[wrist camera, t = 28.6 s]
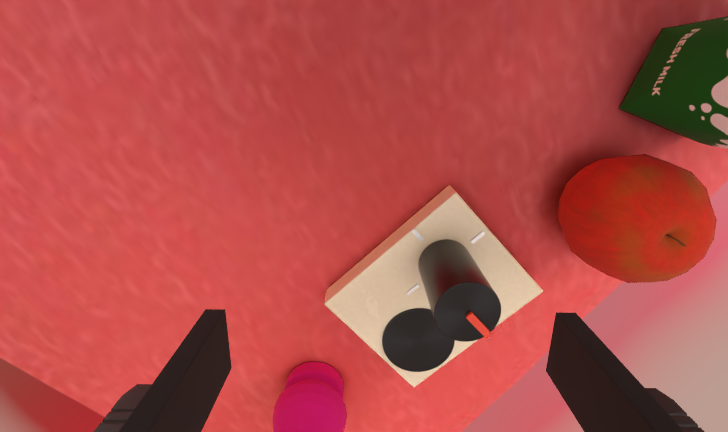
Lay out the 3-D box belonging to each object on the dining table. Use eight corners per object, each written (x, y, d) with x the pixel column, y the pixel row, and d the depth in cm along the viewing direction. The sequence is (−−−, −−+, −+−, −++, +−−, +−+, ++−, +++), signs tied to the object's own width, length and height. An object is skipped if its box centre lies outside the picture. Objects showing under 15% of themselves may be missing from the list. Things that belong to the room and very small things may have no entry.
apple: (659, 222, 39) (776, 275, 28) (559, 266, 40) (634, 333, 29) (630, 127, 36) (746, 144, 25) (524, 178, 38) (591, 214, 27)
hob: (449, 184, 38) (456, 192, 35) (531, 277, 41) (544, 292, 38) (326, 289, 41) (323, 305, 38) (410, 368, 44) (413, 389, 41)
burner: (422, 294, 38) (422, 295, 38) (468, 341, 39) (469, 343, 39) (367, 338, 39) (367, 340, 39) (414, 382, 41) (414, 384, 41)
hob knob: (407, 262, 37) (420, 313, 29) (448, 228, 36) (474, 271, 28) (440, 297, 38) (463, 356, 30) (481, 265, 37) (516, 316, 29)
